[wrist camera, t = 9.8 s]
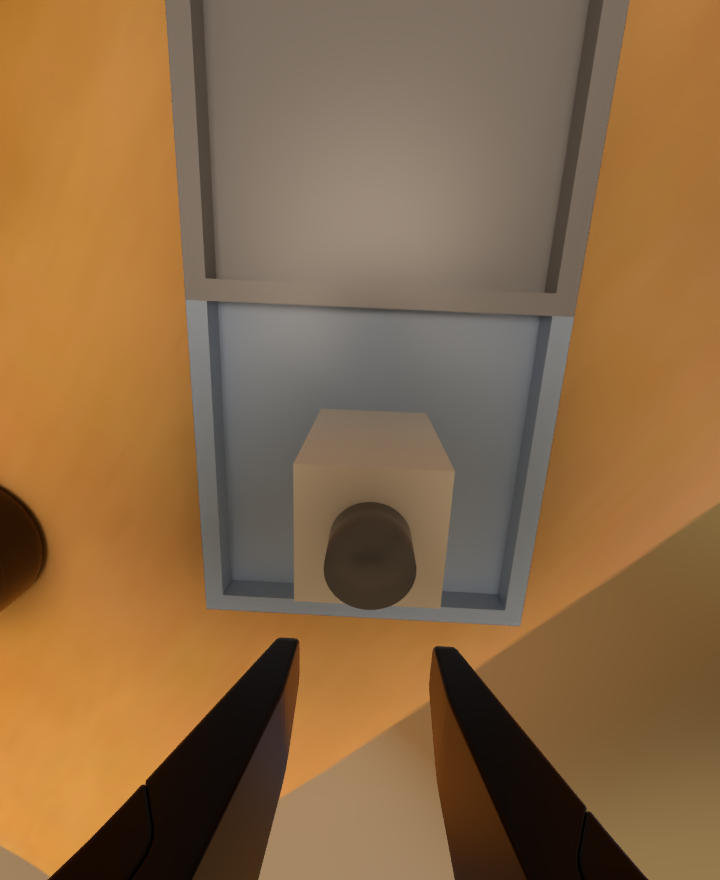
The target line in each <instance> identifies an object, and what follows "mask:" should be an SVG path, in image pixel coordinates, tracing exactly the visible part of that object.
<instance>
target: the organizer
mask: <svg viewBox="0 0 720 880" xmlns="http://www.w3.org/2000/svg"><path fill="white" fill-rule="evenodd" d="M165 5H166V20H167V34H168V49H169V64H170V78H171V93H172V108H173V122H174V137H175V152H176V166H177V181H178V196H179V210H180V225H181V240H182V254H183V269H184V284H185V298H186V313H187V328H188V342H189V357H190V372H191V386H192V401H193V416H194V430H195V445H196V460H197V474H198V489H199V504H200V518H201V533H202V548H203V562H204V577H205V592H206V607H207V609H218V610H236V611H254V612H272V613H290V614H309V615H327V616H345V617H363V618H381V619H399V620H418V621H436V622H454V623H472V624H490V625H508V626H520V624H521V618H522V612H523V607H524V601H525V595H526V590H527V584H528V578H529V572H530V567H531V561H532V555H533V550H534V544H535V538H536V532H537V527H538V521H539V515H540V509H541V504H542V498H543V492H544V487H545V481H546V475H547V469H548V464H549V458H550V452H551V447H552V441H553V435H554V429H555V424H556V418H557V412H558V406H559V401H560V395H561V389H562V384H563V378H564V372H565V366H566V361H567V355H568V349H569V344H570V338H571V332H572V326H573V321H574V315H575V309H576V304H577V298H578V292H579V286H580V281H581V275H582V269H583V263H584V258H585V252H586V246H587V241H588V235H589V229H590V223H591V218H592V212H593V206H594V201H595V195H596V189H597V183H598V178H599V172H600V166H601V160H602V155H603V149H604V143H605V138H606V132H607V126H608V120H609V115H610V109H611V103H612V98H613V92H614V86H615V80H616V75H617V69H618V63H619V58H620V52H621V46H622V40H623V35H624V29H625V23H626V17H627V12H628V6H629V0H165ZM321 409H344V410H367V411H390V412H413V413H427V415H428V417H429V419H430V421H431V424H432V426H433V428H434V430H435V432H436V434H437V436H438V438H439V440H440V442H441V444H442V446H443V448H444V450H445V452H446V454H447V456H448V458H449V460H450V462H451V464H452V466H453V468H454V470H455V476H454V485H453V495H452V504H451V514H450V523H449V533H448V542H447V551H446V561H445V570H444V580H443V589H442V598H441V608H440V609H438V608H418V607H399V606H390V607H387V608H383V609H378V610H363V609H358V608H354V607H351V606H349V605H347V604H340V603H320V602H300V601H294V501H293V463H294V461H295V459H296V457H297V455H298V454H299V452H300V450H301V448H302V446H303V444H304V442H305V440H306V438H307V436H308V434H309V432H310V430H311V428H312V426H313V424H314V422H315V420H316V418H317V416H318V414H319V412H320V410H321Z"/></svg>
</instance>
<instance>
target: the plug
mask: <svg viewBox="0 0 720 880" xmlns="http://www.w3.org/2000/svg"><path fill="white" fill-rule="evenodd" d="M454 476H455V470H454V468H453V466H452V464H451V462H450V460H449V458H448V456H447V454H446V452H445V450H444V448H443V446H442V444H441V442H440V440H439V438H438V436H437V434H436V432H435V430H434V428H433V426H432V424H431V421H430V419H429V417H428V415H427V413H413V412H390V411H367V410H344V409H321V410H320V412H319V414H318V416H317V418H316V420H315V422H314V424H313V426H312V428H311V430H310V432H309V434H308V436H307V438H306V440H305V442H304V444H303V446H302V448H301V450H300V452H299V454H298V455H297V457H296V459H295V461H294V463H293V501H294V601H300V602H320V603H340V604H347V605H349V606H351V607H354V608H358V609H363V610H378V609H383V608H387V607H390V606H399V607H418V608H438V609H440V608H441V598H442V589H443V580H444V570H445V561H446V551H447V542H448V533H449V523H450V514H451V504H452V495H453V485H454Z"/></svg>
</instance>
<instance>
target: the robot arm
mask: <svg viewBox="0 0 720 880" xmlns="http://www.w3.org/2000/svg"><path fill="white" fill-rule="evenodd" d="M298 684H299V641H298V640H297V639H295V638H278V639H276V640H275V641H274V643H273V644H272V645H271V646H270V647H269V648H268V649H267V650H266V651H265V652H264V653H263V654H262V656H261V657H260V658H259V659H258V660H257V661H256V662H255V663H254V664H253V665H252V666H251V667H250V669H249V670H248V671H247V672H246V673H245V674H244V675H243V676H242V677H241V678H240V679H239V680H238V681H237V683H236V684H235V685H234V686H233V687H232V688H231V689H230V690H229V691H228V692H227V693H226V694H225V696H224V697H223V698H222V699H221V700H220V701H219V702H218V703H217V704H216V705H215V706H214V707H213V709H212V710H211V711H210V712H209V713H208V714H207V715H206V716H205V717H204V718H203V719H202V720H201V722H200V723H199V724H198V725H197V726H196V727H195V728H194V729H193V730H192V731H191V732H190V733H189V735H188V736H187V737H186V738H185V739H184V740H183V741H182V742H181V743H180V744H179V745H178V746H177V748H176V749H175V750H174V751H173V752H172V753H171V754H170V755H169V756H168V757H167V758H166V759H165V760H164V762H163V763H162V764H161V765H160V766H159V767H158V768H157V769H156V770H155V771H154V772H153V773H152V775H151V776H150V777H149V778H148V779H147V780H146V785H141V786H140V787H139V788H138V789H137V790H136V792H135V793H134V794H133V795H132V796H131V797H130V798H129V799H128V800H127V801H126V802H125V803H124V805H123V806H122V807H121V808H120V809H119V810H118V811H117V812H116V813H115V814H114V815H113V816H112V817H111V818H110V819H109V820H108V821H107V822H106V823H105V824H104V825H103V826H102V827H101V828H100V829H99V830H98V832H97V833H96V834H95V835H94V836H93V837H92V838H91V839H90V840H89V841H88V842H87V843H86V844H85V845H84V846H83V847H81V848H80V849H79V850H78V851H77V852H76V853H75V854H74V855H73V856H72V857H71V858H70V859H69V860H68V861H67V862H66V863H65V864H64V865H63V866H62V867H61V868H60V869H58V870H57V871H56V872H55V873H54V874H53V875H52V876H51V877H50V878H49V879H48V880H258V878H259V874H260V870H261V866H262V862H263V858H264V855H265V851H266V847H267V843H268V839H269V835H270V831H271V827H272V823H273V819H274V815H275V811H276V808H277V804H278V800H279V796H280V792H281V788H282V784H283V779H284V775H285V771H286V765H287V759H288V753H289V746H290V739H291V732H292V726H293V719H294V712H295V705H296V698H297V691H298ZM429 693H430V706H431V719H432V730H433V743H434V756H435V767H436V777H437V784H438V790H439V796H440V802H441V807H442V813H443V818H444V824H445V829H446V834H447V840H448V845H449V851H450V856H451V862H452V867H453V872H454V878H455V880H648V879H647V878H646V877H645V876H644V874H643V873H642V872H641V871H640V870H639V869H638V867H637V866H636V865H635V864H634V863H633V862H632V861H631V859H630V858H629V857H628V856H627V855H626V853H625V852H624V851H623V850H622V849H621V848H620V846H619V845H618V844H617V843H616V842H615V841H614V839H613V838H612V837H611V836H610V835H609V834H608V832H607V831H606V830H605V829H604V828H603V826H602V825H601V824H600V823H599V821H598V820H597V819H596V818H595V817H594V815H593V814H592V813H591V812H589V811H588V812H586V810H587V808H586V806H585V805H584V804H583V802H582V801H581V800H580V799H579V798H578V796H577V795H576V794H575V793H574V791H573V790H572V789H571V788H570V786H569V785H568V784H567V783H566V782H565V780H564V779H563V778H562V777H561V776H560V774H559V773H558V772H557V771H556V770H555V768H554V767H553V766H552V765H551V763H550V762H549V761H548V760H547V758H546V757H545V756H544V755H543V754H542V752H541V751H540V750H539V749H538V748H537V747H536V745H535V744H534V743H533V741H532V740H531V739H530V738H529V737H528V735H527V734H526V733H525V732H524V731H523V729H522V728H521V727H520V726H519V725H518V723H517V722H516V721H515V720H514V718H513V717H512V716H511V715H510V714H509V712H508V711H507V710H506V709H505V708H504V706H503V705H502V704H501V703H500V701H499V700H498V699H497V698H496V697H495V695H494V694H493V693H492V692H491V691H490V689H489V688H488V687H487V686H486V684H485V683H484V682H483V681H482V680H481V678H480V677H479V676H478V675H477V673H476V672H475V671H474V670H473V669H472V667H471V666H470V665H469V664H468V662H467V661H466V660H465V659H464V658H463V656H462V655H461V654H460V653H459V652H458V650H457V649H455V648H454V647H442V646H436V647H435V648H434V649H433V653H432V662H431V671H430V681H429Z"/></svg>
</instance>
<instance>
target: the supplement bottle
mask: <svg viewBox="0 0 720 880" xmlns="http://www.w3.org/2000/svg"><path fill="white" fill-rule="evenodd" d="M41 563H42V542H41V537H40V534H39V531H38V529H37V527H36V525H35V523H34V521H33V519H32V518H31V516H30V515H29V514H28V512H27V511H26V510H25V509H24V508H23V507H22V505H21V504H19V503H18V502H17V501H16V500H15V499H14V498H13V497H11V496H10V495H9V494H7V493H6V492H4V491H2V490H0V612H1V611H2V610H4V609H5V608H6V607H7V606H9V605H10V604H11V603H12V602H13V601H15V600H16V599H17V598H18V597H19V596H21V595H22V594H23V593H24V592H25V591H26V590H27V589H28V588H29V587H30V586H31V585H32V583H33V582H34V580H35V579H36V577H37V575H38V573H39V570H40V567H41Z"/></svg>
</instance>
